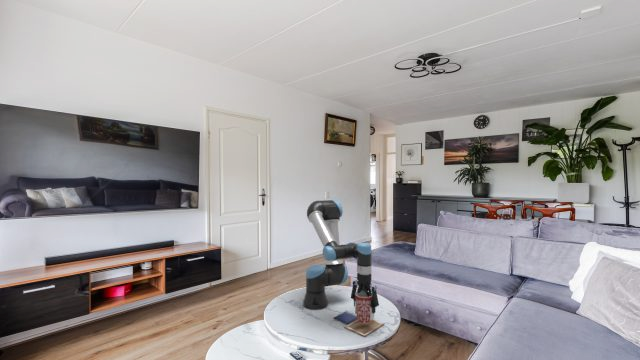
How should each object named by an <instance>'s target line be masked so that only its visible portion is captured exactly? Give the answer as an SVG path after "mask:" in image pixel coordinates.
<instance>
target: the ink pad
mask: <svg viewBox="0 0 640 360" xmlns="http://www.w3.org/2000/svg"><path fill="white" fill-rule="evenodd" d="M333 320H335V321H338V322H340V323H342V324H344V325H345V326H347V325H349V324H350V323H352V322H354V321H356V320H357V315H354V314H351V313H349V312H347V311H344V312H342V313H339V314H337V315H336V316H333Z"/></svg>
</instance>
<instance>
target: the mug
mask: <svg viewBox="0 0 640 360" xmlns="http://www.w3.org/2000/svg"><path fill="white" fill-rule="evenodd" d="M355 295H356V313H357V314H356V317H357V320H358V321H359V322H362V323H368V322H370V321H371V320H370V307H371V299H372V296H370V297H368V296H367V294H366V292H364V291H361V292H360V293H359V294H358V292H357V291H356V293H355Z"/></svg>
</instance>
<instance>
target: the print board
mask: <svg viewBox="0 0 640 360" xmlns="http://www.w3.org/2000/svg"><path fill="white" fill-rule="evenodd" d="M384 325H385V323H382V322H380V321H377V320H375V319H372V320H371V321H370V322H368V323H362V322H359V321H358V320H356V321H354V322H352V323H350V324H348V325H345V326H344V329H345V330H348V331H350V332H352V333H354V334H357V335H359V336H361V337H363V338H366V337H368V336H369V335H371V334H373V333H375V332H376V331H377V330H379V329H380V328H382V327H384Z"/></svg>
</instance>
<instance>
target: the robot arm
mask: <svg viewBox="0 0 640 360" xmlns="http://www.w3.org/2000/svg"><path fill="white" fill-rule="evenodd" d="M343 210H344V209H343V206H342V205H341V203H340V202H339V201H338V200H334V199H333V200H332V199H329V200H328V199H327V200H315V201H312V202H311V203H310V204H309V206H308V207H307V209H306V217H307V219H308V221H309V223H311V224H312V226H313V228H314V230H315V232H316V234H317V236H318V238H319V240H320V242H321V244H322V246H323V247H322V257H323V259H324V260H326V262H325V265H323V264H314V265H311V266H309V267H307V269H306V271H305V273H306V274H305V295H304V299H303V301H302V303H303V307H304V308H305V309H308V310H314V311H315V310H322V309H325V308H327V307H328V305H329V304H328V298H327V295H326V291H325V290H326V289H325V288H326V287H331V286H339V285H342V284H345V283H346V282H347V280H348V277H349V270H348V267H347V266H346V265H345V264H344V261H343V260H344V259H347V260H348V259H356V280H353V281H352V289H351V294H350V299H352V301H353V307H354V314H355V315H357V313H356V295H355V293H356V292H358V294H359V293H360V292H361V291H364V292H366V294H367V296H368V297H370V296H372V299H371V307H370V320H372V319H373V320H375V314H376V308H377V307H379V306H380V304H379V298H378V292H377V287H378V286H376V285H375V286H374V285H372V245H371V244H370V243H369V242H358V243H356V242H347V243H346V244H340V236H339V235H340V234H339V233H340V232H339V223H338V222H340V220H341V219H340V218H342V216H343Z"/></svg>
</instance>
